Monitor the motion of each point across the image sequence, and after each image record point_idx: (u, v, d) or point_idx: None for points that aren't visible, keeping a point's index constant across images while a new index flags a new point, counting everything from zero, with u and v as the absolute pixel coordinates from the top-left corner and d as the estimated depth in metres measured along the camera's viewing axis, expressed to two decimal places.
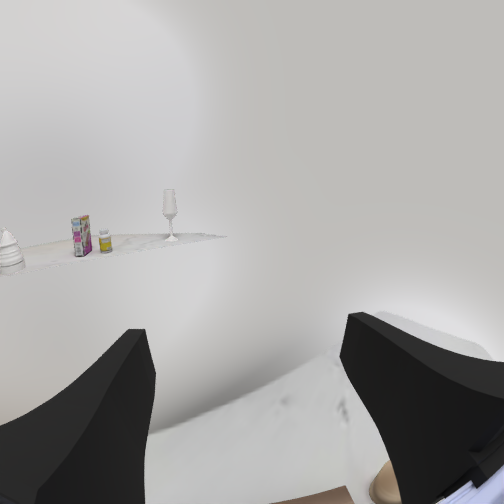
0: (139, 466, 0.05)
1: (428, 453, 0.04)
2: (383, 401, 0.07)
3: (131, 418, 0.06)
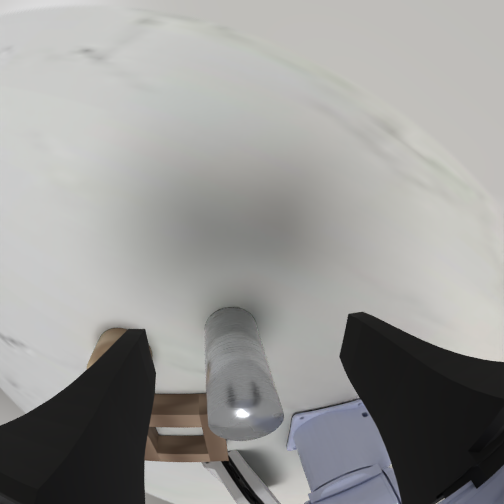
0: (139, 466, 0.05)
1: (428, 453, 0.04)
2: (383, 401, 0.07)
3: (131, 418, 0.06)
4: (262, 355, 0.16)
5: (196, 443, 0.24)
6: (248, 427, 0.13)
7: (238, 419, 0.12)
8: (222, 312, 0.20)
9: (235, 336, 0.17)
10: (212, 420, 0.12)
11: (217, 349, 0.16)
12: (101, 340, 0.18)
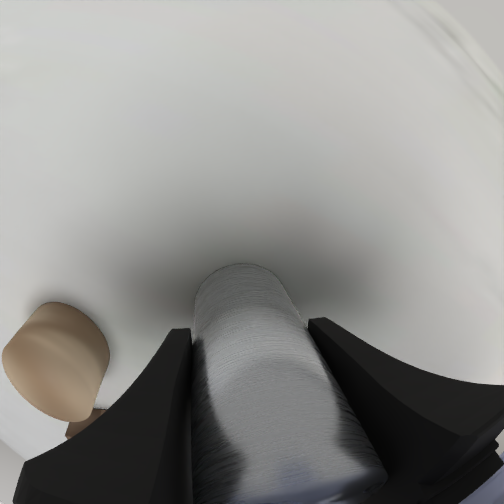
0: None
1: None
2: None
3: (186, 420, 0.06)
4: (317, 350, 0.07)
5: None
6: None
7: None
8: (227, 270, 0.11)
9: (256, 310, 0.08)
10: None
11: (218, 338, 0.07)
12: (27, 320, 0.09)
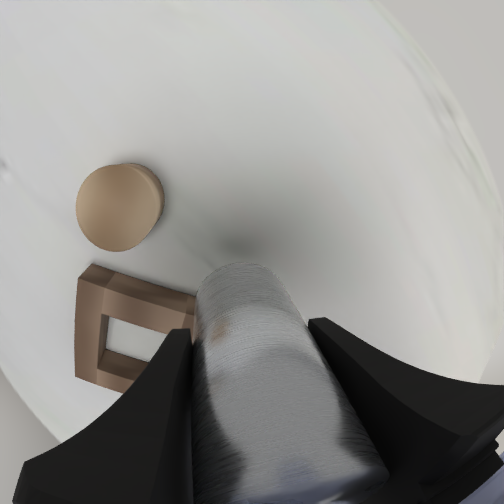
0: None
1: None
2: None
3: (186, 420, 0.06)
4: (318, 349, 0.07)
5: None
6: None
7: None
8: (227, 269, 0.11)
9: (258, 308, 0.08)
10: None
11: (219, 336, 0.07)
12: None
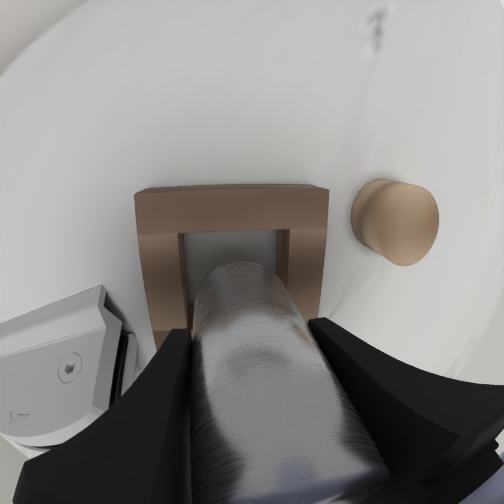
0: None
1: None
2: None
3: (186, 420, 0.06)
4: (319, 348, 0.07)
5: (186, 298, 0.16)
6: None
7: None
8: (228, 267, 0.11)
9: (259, 306, 0.08)
10: None
11: (219, 333, 0.07)
12: None
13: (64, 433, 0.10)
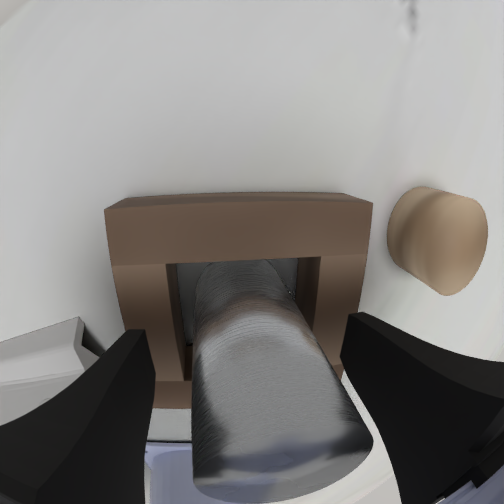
0: (139, 466, 0.05)
1: (428, 453, 0.04)
2: (383, 401, 0.07)
3: (131, 418, 0.06)
4: (309, 327, 0.08)
5: (181, 339, 0.12)
6: (288, 483, 0.05)
7: (271, 472, 0.04)
8: None
9: (254, 290, 0.09)
10: (204, 476, 0.04)
11: (219, 313, 0.08)
12: None
13: None
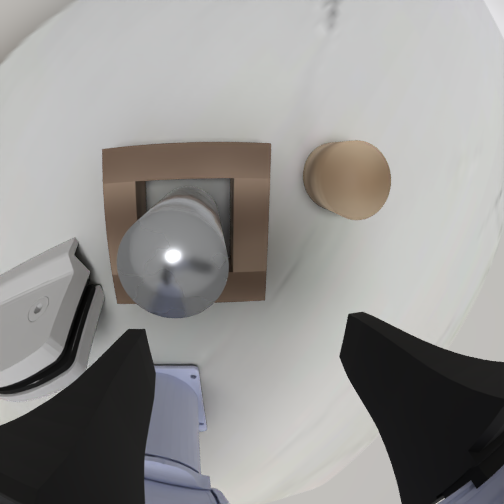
0: (139, 466, 0.05)
1: (428, 453, 0.04)
2: (383, 401, 0.07)
3: (131, 418, 0.06)
4: (214, 211, 0.13)
5: None
6: (174, 283, 0.10)
7: (159, 258, 0.09)
8: (178, 188, 0.17)
9: (184, 192, 0.14)
10: (122, 257, 0.09)
11: (160, 201, 0.13)
12: None
13: (24, 367, 0.11)
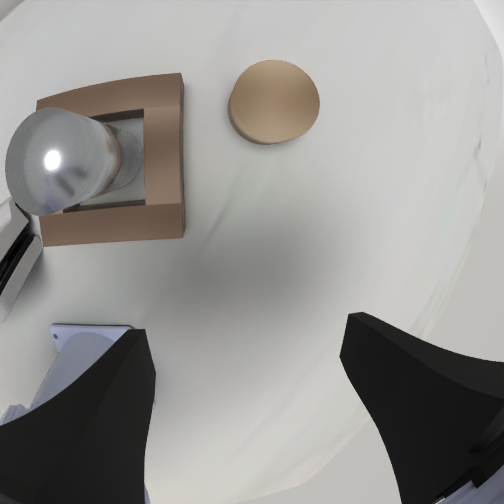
0: (139, 466, 0.05)
1: (428, 453, 0.04)
2: (383, 401, 0.07)
3: (131, 418, 0.06)
4: (112, 131, 0.11)
5: None
6: (43, 176, 0.07)
7: (33, 152, 0.07)
8: None
9: None
10: (9, 158, 0.07)
11: None
12: None
13: None
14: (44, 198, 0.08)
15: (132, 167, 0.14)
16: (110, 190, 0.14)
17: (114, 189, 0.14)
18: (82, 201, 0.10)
